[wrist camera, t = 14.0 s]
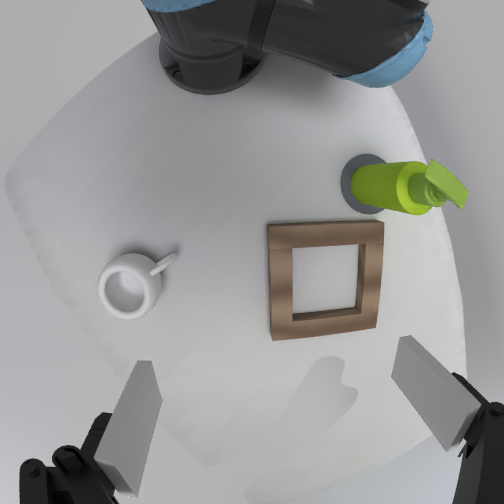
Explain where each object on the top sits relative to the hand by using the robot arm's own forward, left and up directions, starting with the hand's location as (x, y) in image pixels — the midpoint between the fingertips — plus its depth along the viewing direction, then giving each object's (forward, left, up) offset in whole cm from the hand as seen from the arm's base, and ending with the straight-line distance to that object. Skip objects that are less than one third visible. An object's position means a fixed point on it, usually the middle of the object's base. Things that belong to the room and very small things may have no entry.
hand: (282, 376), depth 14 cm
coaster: (-9, +18, -29) cm, 35 cm away
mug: (+2, -15, -29) cm, 33 cm away
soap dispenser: (-9, +17, -28) cm, 34 cm away
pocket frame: (+5, +11, -29) cm, 31 cm away
